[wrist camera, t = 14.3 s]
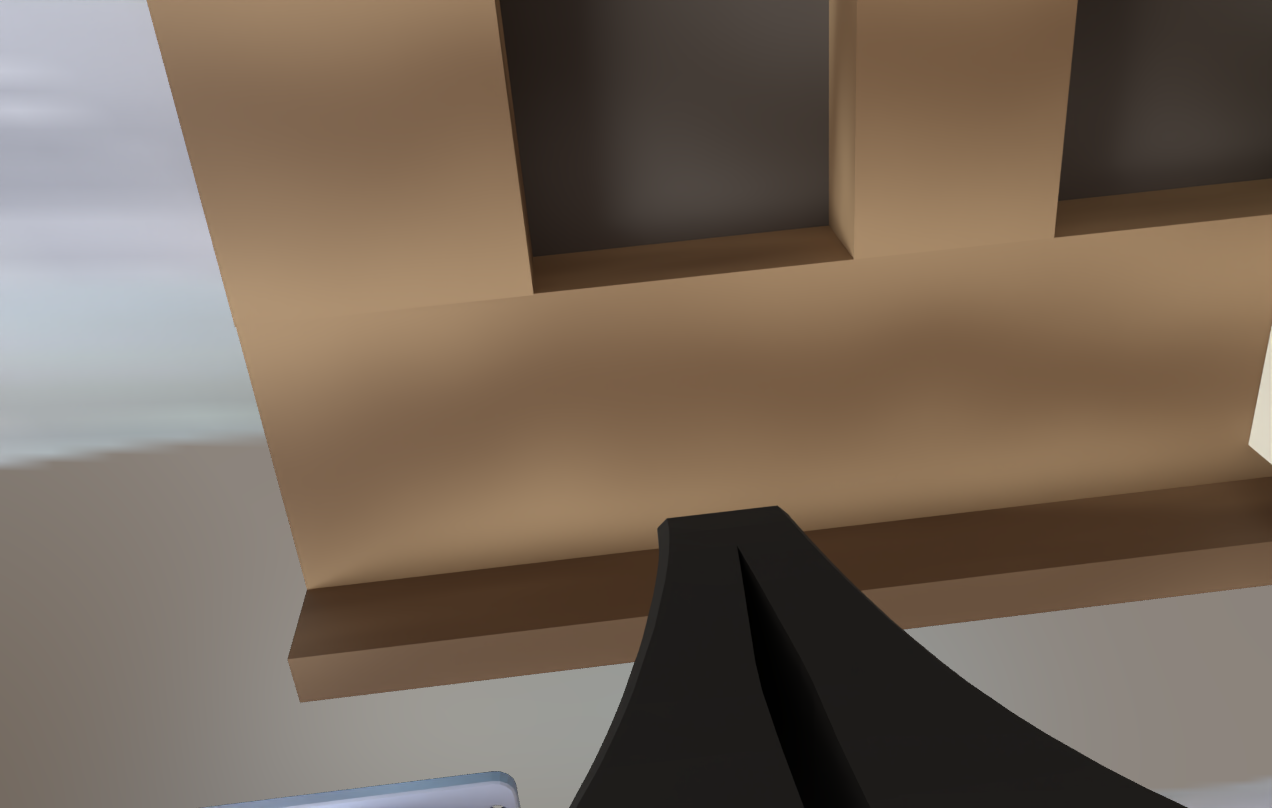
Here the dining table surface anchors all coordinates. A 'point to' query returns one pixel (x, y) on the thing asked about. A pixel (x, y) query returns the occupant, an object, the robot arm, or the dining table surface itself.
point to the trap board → (735, 302)
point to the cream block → (1264, 411)
